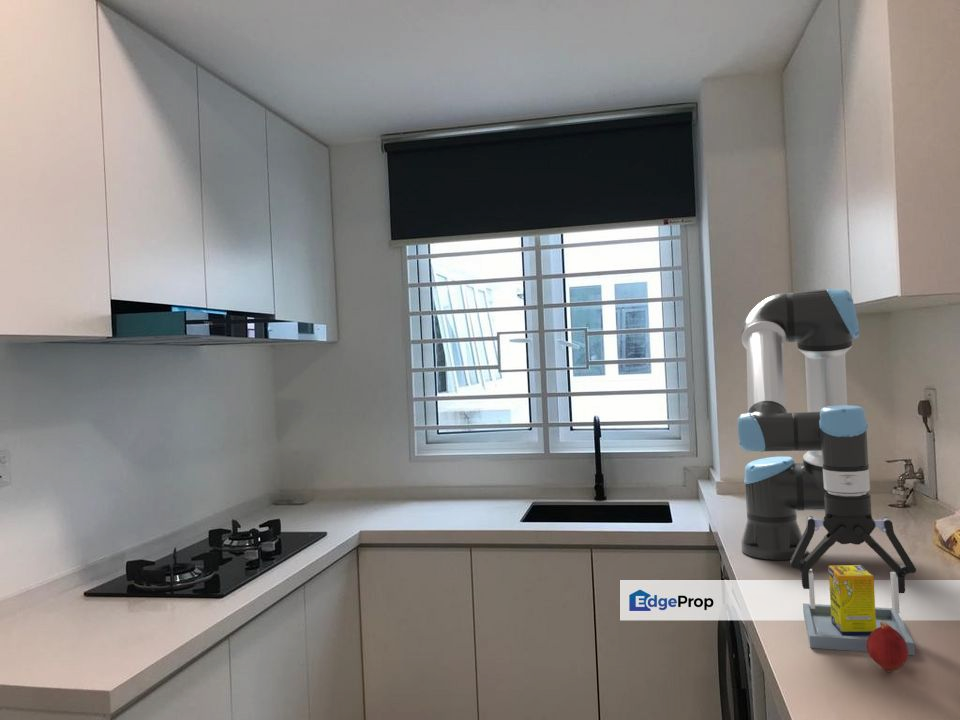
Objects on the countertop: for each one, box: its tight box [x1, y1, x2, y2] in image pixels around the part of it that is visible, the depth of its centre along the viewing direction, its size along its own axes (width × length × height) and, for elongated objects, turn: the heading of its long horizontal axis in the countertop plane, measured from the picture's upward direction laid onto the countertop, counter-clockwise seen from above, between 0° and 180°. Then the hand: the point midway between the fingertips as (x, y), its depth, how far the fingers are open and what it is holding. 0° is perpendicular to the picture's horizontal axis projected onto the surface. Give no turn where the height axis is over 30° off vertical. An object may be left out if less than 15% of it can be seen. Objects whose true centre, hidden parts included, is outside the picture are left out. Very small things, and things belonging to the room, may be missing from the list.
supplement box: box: [827, 564, 876, 636], centre depth 133 cm, size 6×6×11 cm
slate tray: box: [802, 603, 916, 656], centre depth 133 cm, size 16×16×2 cm
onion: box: [866, 622, 909, 673], centre depth 118 cm, size 6×6×8 cm
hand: (853, 608), depth 133 cm, fingers open, 13 cm apart
